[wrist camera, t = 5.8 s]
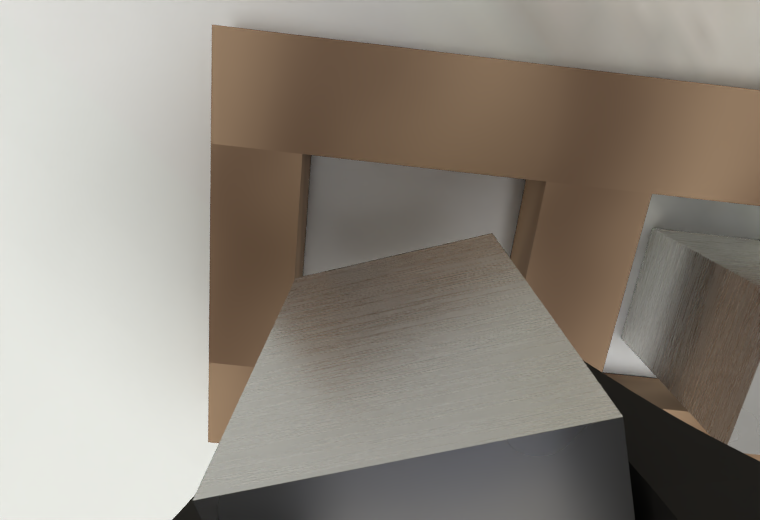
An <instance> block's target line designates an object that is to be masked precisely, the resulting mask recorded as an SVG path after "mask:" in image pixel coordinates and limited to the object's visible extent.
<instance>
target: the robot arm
mask: <svg viewBox="0 0 760 520" xmlns="http://www.w3.org/2000/svg"><path fill="white" fill-rule="evenodd" d="M584 363H585V364H586V365H587V367H588V368H589V370H590V371H591V372H592V374H593V375H594V377H595V378H596V379H597V381H598V382H599V384H600V385H601V386H602V388H603V389H604V391H605V392H606V393H607V395H608V396H609V398H610V399H611V400H612V402H613V403H614V405H615V406H616V407H617V409H618V410H619V412H620V413H621V414H622V416H623V420H624V429H625V437H626V446H627V454H628V463H629V471H630V480H631V489H632V497H633V506H634V514H635V520H760V461H758V460H756V459H754V458H752V457H750V456H748V455H746V454H744V453H742V452H740V451H739V450H737V449H735V448H733V447H731V446H729V445H727V444H725V443H723V442H721V441H719V440H717V439H715V438H713V437H711V436H709V435H707V434H706V433H704V432H702V431H700V430H698V429H696V428H695V427H693V426H691V425H689V424H687V423H685V422H684V421H682V420H680V419H678V418H677V417H675V416H673V415H671V414H669V413H668V412H666V411H664V410H663V409H661V408H659V407H658V406H656V405H654V404H652V403H651V402H649V401H647V400H646V399H644V398H642V397H641V396H639V395H637V394H636V393H634V392H633V391H631V390H629V389H628V388H626V387H624V386H623V385H621V384H620V383H618V382H616V381H615V380H613V379H612V378H610V377H609V376H607V375H605V374H604V373H602V372H601V371H599V370H598V369H596V368H594V367H593V366H591V365H590V364H588V363H587V362H585V361H584ZM193 499H194V497H193V498H192V499H191V500H190V501H189V502H188V503H187V505H186V506H185V507H184V508H183V509H182V510H181V511H180V512H179V513H178V514H177V515H176V516H175V517H174V519H173V520H201V519H200V517H199V514H198V512H197V510H196V508H195V505H194V503H193Z"/></svg>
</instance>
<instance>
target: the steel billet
mask: <svg viewBox="0 0 760 520" xmlns="http://www.w3.org/2000/svg"><path fill="white" fill-rule="evenodd" d="M193 503H194V505H195V508H196V510H197V512H198V514H199V517H200V519H201V520H635V514H634V506H633V497H632V489H631V480H630V471H629V463H628V454H627V446H626V437H625V429H624V420H623V416H622V414H621V413H620V412H619V410H618V409H617V407H616V406H615V405H614V403H613V402H612V400H611V399H610V398H609V396H608V395H607V393H606V392H605V391H604V389H603V388H602V386H601V385H600V384H599V382H598V381H597V379H596V378H595V377H594V375H593V374H592V372H591V371H590V370H589V368H588V367H587V365H586V364H585V363H584V361H583V360H582V358H581V357H580V356H579V354H578V353H577V351H576V350H575V349H574V347H573V346H572V344H571V343H570V342H569V340H568V339H567V337H566V336H565V335H564V333H563V332H562V330H561V329H560V328H559V326H558V325H557V323H556V322H555V321H554V319H553V318H552V316H551V315H550V314H549V312H548V311H547V309H546V308H545V307H544V305H543V304H542V302H541V301H540V300H539V298H538V297H537V295H536V294H535V293H534V291H533V290H532V288H531V287H530V286H529V284H528V283H527V281H526V280H525V279H524V277H523V276H522V274H521V273H520V272H519V270H518V269H517V267H516V266H515V265H514V263H513V262H512V260H511V259H510V258H509V256H508V255H507V253H506V252H505V251H504V249H503V248H502V246H501V245H500V244H499V242H498V241H497V239H496V238H495V237H494V235H493V234H492V233H491V234H487V235H482V236H478V237H474V238H469V239H465V240H460V241H456V242H452V243H447V244H443V245H439V246H434V247H430V248H425V249H421V250H417V251H412V252H408V253H404V254H399V255H395V256H390V257H386V258H382V259H377V260H373V261H369V262H364V263H360V264H355V265H351V266H347V267H342V268H338V269H334V270H329V271H325V272H320V273H316V274H312V275H307V276H303V277H299V278H295V280H294V283H293V285H292V287H291V289H290V291H289V293H288V296H287V298H286V300H285V302H284V304H283V306H282V309H281V311H280V313H279V315H278V317H277V319H276V321H275V324H274V326H273V328H272V330H271V332H270V334H269V337H268V339H267V341H266V343H265V345H264V347H263V350H262V352H261V354H260V356H259V358H258V360H257V363H256V365H255V367H254V369H253V371H252V373H251V375H250V378H249V380H248V382H247V384H246V386H245V388H244V391H243V393H242V395H241V397H240V399H239V401H238V404H237V406H236V408H235V410H234V412H233V414H232V416H231V419H230V421H229V423H228V425H227V427H226V429H225V432H224V434H223V436H222V438H221V440H220V442H219V445H218V447H217V449H216V451H215V453H214V455H213V458H212V460H211V462H210V464H209V466H208V468H207V470H206V473H205V475H204V477H203V479H202V481H201V483H200V486H199V488H198V490H197V492H196V494H195V496H194V499H193Z"/></svg>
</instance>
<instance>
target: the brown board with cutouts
mask: <svg viewBox="0 0 760 520" xmlns="http://www.w3.org/2000/svg"><path fill="white" fill-rule="evenodd" d="M311 155H315V156H324V157H333V158H342V159H351V160H359V161H368V162H377V163H386V164H395V165H403V166H412V167H421V168H430V169H439V170H448V171H456V172H465V173H474V174H483V175H492V176H500V177H509V178H518V179H526V182H525V187H524V192H523V197H522V202H521V207H520V212H519V217H518V222H517V227H516V232H515V237H514V242H513V247H512V252H511V257H510V259H511V260H512V262H513V263H514V265H515V266H516V267H517V269H518V270H519V272H520V273H521V274H522V276H523V277H524V279H525V280H526V281H527V283H528V284H529V286H530V287H531V288H532V290H533V291H534V293H535V294H536V295H537V297H538V298H539V300H540V301H541V302H542V304H543V305H544V307H545V308H546V309H547V311H548V312H549V314H550V315H551V316H552V318H553V319H554V321H555V322H556V323H557V325H558V326H559V328H560V329H561V330H562V332H563V333H564V335H565V336H566V337H567V339H568V340H569V342H570V343H571V344H572V346H573V347H574V349H575V350H576V351H577V353H578V354H579V356H580V357H581V358H582V360H583V361H585V362H587V363H588V364H590V365H591V366H593V367H594V368H596V369H598V370H599V371H601V372H602V371H603V368H604V364H605V360H606V357H607V353H608V350H609V346H610V342H611V339H612V335H613V332H614V328H615V325H616V321H617V317H618V314H619V310H620V307H621V303H622V300H623V296H624V292H625V289H626V285H627V282H628V278H629V274H630V271H631V267H632V264H633V260H634V257H635V253H636V249H637V246H638V242H639V239H640V235H641V232H642V228H643V224H644V221H645V217H646V214H647V210H648V207H649V203H650V199H651V196H652V194H659V195H668V196H677V197H686V198H694V199H703V200H712V201H721V202H730V203H738V204H747V205H756V206H760V90H754V89H745V88H737V87H728V86H720V85H712V84H703V83H695V82H687V81H678V80H670V79H662V78H653V77H645V76H636V75H628V74H620V73H611V72H603V71H595V70H586V69H578V68H570V67H561V66H553V65H544V64H536V63H528V62H519V61H511V60H503V59H494V58H486V57H477V56H469V55H461V54H452V53H444V52H436V51H427V50H419V49H411V48H402V47H394V46H385V45H377V44H369V43H360V42H352V41H344V40H335V39H327V38H319V37H310V36H302V35H293V34H285V33H277V32H268V31H260V30H252V29H243V28H235V27H227V26H218V25H212V85H211V195H210V304H209V414H208V442H212V443H219V442H220V440H221V438H222V436H223V434H224V432H225V429H226V427H227V425H228V423H229V421H230V419H231V416H232V414H233V412H234V410H235V408H236V406H237V404H238V401H239V399H240V397H241V395H242V393H243V391H244V388H245V386H246V384H247V382H248V380H249V378H250V375H251V373H252V371H253V369H254V367H255V365H256V363H257V360H258V358H259V356H260V354H261V352H262V350H263V347H264V345H265V343H266V341H267V339H268V337H269V334H270V332H271V330H272V328H273V326H274V324H275V321H276V319H277V317H278V315H279V313H280V311H281V309H282V306H283V304H284V302H285V300H286V298H287V296H288V293H289V291H290V289H291V287H292V285H293V283H294V280H295V278H299V277H303V266H304V251H305V237H306V222H307V208H308V193H309V179H310V164H311ZM604 374H605V375H607V376H609V377H610V378H612V379H613V380H615V381H616V382H618V383H620V384H621V385H623V386H624V387H626V388H628V389H629V390H631V391H633V392H634V393H636V394H637V395H639V396H641V397H642V398H644V399H646V400H647V401H649V402H651V403H652V404H654V405H656V406H658V407H659V408H661V409H663V410H664V411H666V412H668V413H669V414H671V415H673V416H675V417H677V418H678V419H680V420H682V421H684V422H685V423H687V424H689V425H691V426H693V427H695V428H696V429H698V430H700V431H702V432H704V433H706V434H707V435H709V436H710V434H709V433H708V432H707V431H706V430H705V429H704V428H703V427H702V426H701V425H700V424H699V422H698V421H697V420H696V419H695V418H694V417H693V416H692V415H691V414H690V413H689V412H688V410H687V409H686V408H685V407H684V406H683V405H682V404H681V403H680V402H679V401H678V400H677V399H676V397H675V396H674V395H673V394H672V393H671V392H670V391H669V390H668V389H667V388H666V387H665V385H664V384H663V383H662V382H661V381H660V380H659V379H657V378H647V377H638V376H628V375H618V374H609V373H604ZM744 454H746V453H744ZM746 455H748V456H750V457H752V458H754V459H756V460H758V461H760V455H756V454H746Z"/></svg>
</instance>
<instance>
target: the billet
mask: <svg viewBox="0 0 760 520" xmlns="http://www.w3.org/2000/svg"><path fill="white" fill-rule="evenodd" d="M621 339H622V340H623V341H624V342H625V343H626V344H627V345H628V346H629V347H630V348H631V350H632V351H633V352H634V353H635V354H636V355H637V356H638V357H639V358H640V359H641V360H642V362H643V363H644V364H645V365H646V366H647V367H648V368H649V369H650V370H651V371H652V372H653V373H654V375H655V376H656V377H657V378H658V379H659V380H660V381H661V382H662V383H663V384H664V385H665V387H666V388H667V389H668V390H669V391H670V392H671V393H672V394H673V395H674V396H675V397H676V399H677V400H678V401H679V402H680V403H681V404H682V405H683V406H684V407H685V408H686V409H687V410H688V412H689V413H690V414H691V415H692V416H693V417H694V418H695V419H696V420H697V421H698V422H699V424H700V425H701V426H702V427H703V428H704V429H705V430H706V431H707V432H708V433H709V434H710V436H711V437H713V438H715V439H717V440H719V441H721V442H723V443H725V444H727V445H729V446H731V447H733V448H735V449H737V450H739V451H740V452H742V453H746V454H756V455H760V240H755V239H746V238H737V237H728V236H719V235H710V234H701V233H692V232H683V231H674V230H665V229H656V228H652V231H651V235H650V238H649V242H648V245H647V249H646V252H645V256H644V259H643V263H642V266H641V270H640V273H639V277H638V280H637V284H636V287H635V291H634V294H633V298H632V301H631V305H630V308H629V312H628V315H627V319H626V322H625V326H624V329H623V332H622V336H621Z"/></svg>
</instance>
